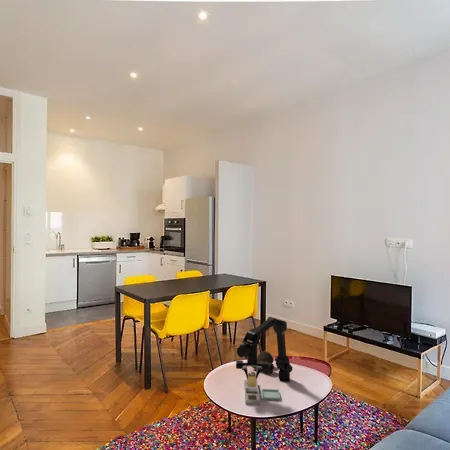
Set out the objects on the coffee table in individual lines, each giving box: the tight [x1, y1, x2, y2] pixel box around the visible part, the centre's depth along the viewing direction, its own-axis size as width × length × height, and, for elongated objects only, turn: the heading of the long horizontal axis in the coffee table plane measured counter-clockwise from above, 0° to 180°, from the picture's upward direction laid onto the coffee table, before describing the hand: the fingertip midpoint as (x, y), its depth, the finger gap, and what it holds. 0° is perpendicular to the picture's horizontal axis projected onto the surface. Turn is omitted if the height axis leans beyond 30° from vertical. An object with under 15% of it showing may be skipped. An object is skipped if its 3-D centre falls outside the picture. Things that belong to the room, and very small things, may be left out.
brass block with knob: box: [248, 371, 256, 387], centre depth 208 cm, size 4×4×7 cm
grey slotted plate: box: [243, 379, 261, 405], centre depth 210 cm, size 8×24×3 cm, turn 178°
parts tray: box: [261, 388, 281, 401], centre depth 208 cm, size 10×10×2 cm
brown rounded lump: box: [252, 351, 275, 374], centre depth 245 cm, size 10×15×15 cm
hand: (251, 379), depth 208 cm, fingers closed on brass block with knob, 4 cm apart
